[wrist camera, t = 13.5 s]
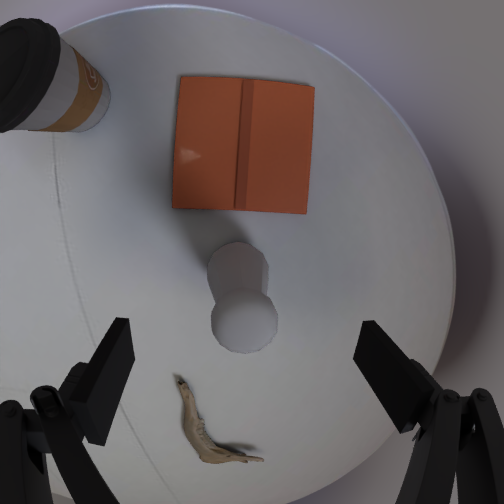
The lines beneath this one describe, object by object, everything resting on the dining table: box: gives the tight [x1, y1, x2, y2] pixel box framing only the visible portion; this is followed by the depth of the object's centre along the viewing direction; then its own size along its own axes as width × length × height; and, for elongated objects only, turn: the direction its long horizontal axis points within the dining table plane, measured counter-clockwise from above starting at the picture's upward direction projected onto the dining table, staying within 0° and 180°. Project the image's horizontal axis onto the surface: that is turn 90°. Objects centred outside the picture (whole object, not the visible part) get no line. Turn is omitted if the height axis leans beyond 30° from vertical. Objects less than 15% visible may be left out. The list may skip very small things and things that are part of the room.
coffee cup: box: [0, 18, 110, 133], centre depth 16 cm, size 8×8×15 cm
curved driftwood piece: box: [178, 381, 264, 464], centre depth 35 cm, size 9×20×2 cm, turn 30°
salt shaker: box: [207, 242, 278, 354], centre depth 24 cm, size 6×6×13 cm
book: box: [172, 77, 315, 214], centre depth 26 cm, size 13×13×1 cm
